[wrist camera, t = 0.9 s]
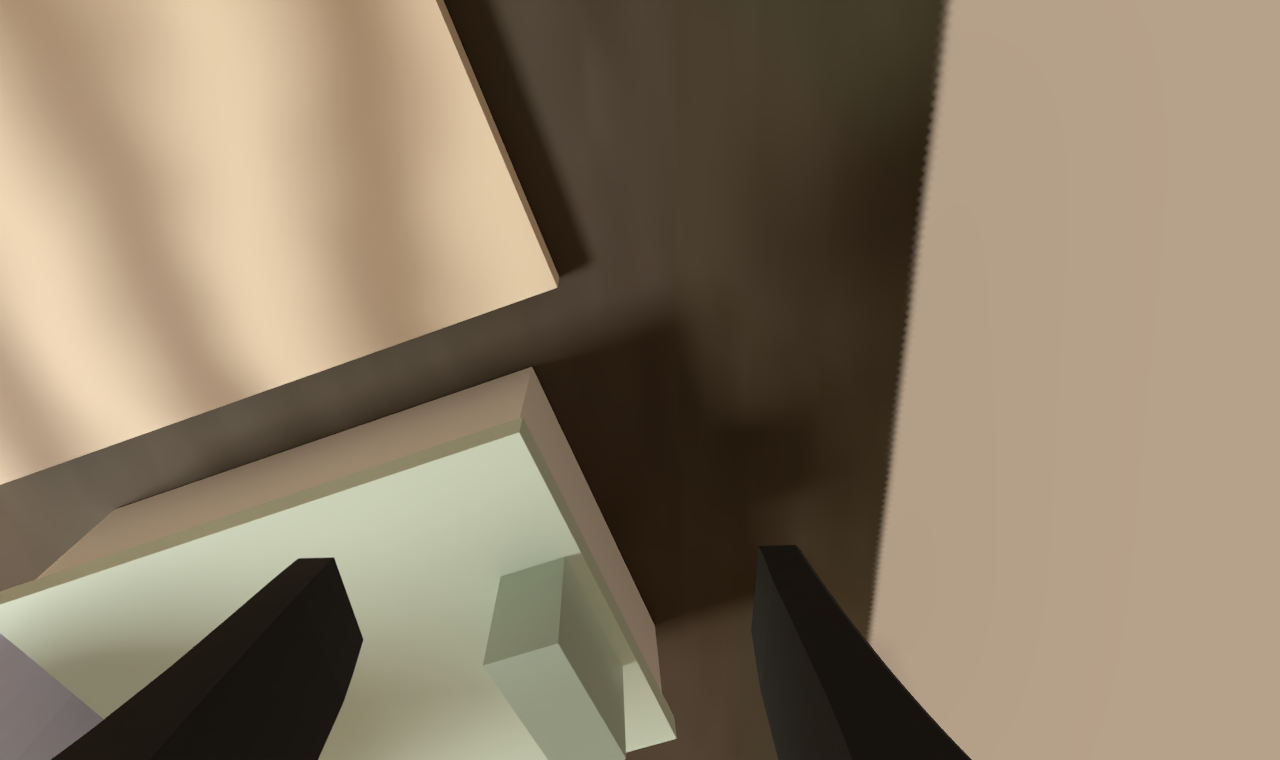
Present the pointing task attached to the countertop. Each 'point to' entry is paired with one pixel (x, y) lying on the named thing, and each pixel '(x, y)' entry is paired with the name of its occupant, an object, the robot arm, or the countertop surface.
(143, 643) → the lid
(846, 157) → the countertop surface
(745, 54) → the countertop surface
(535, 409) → the tub
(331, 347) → the board
